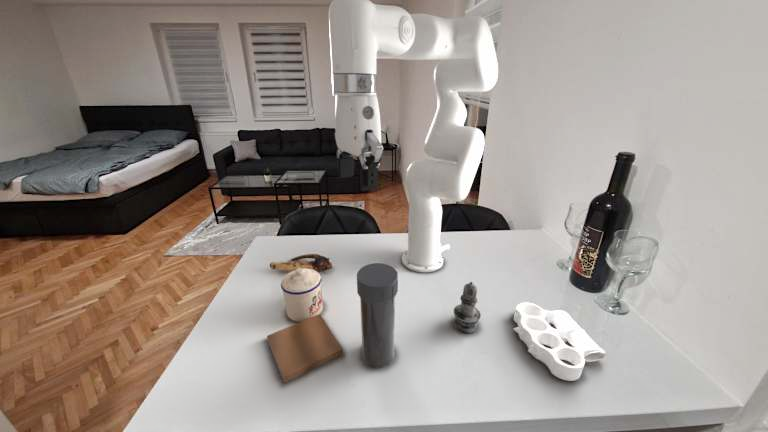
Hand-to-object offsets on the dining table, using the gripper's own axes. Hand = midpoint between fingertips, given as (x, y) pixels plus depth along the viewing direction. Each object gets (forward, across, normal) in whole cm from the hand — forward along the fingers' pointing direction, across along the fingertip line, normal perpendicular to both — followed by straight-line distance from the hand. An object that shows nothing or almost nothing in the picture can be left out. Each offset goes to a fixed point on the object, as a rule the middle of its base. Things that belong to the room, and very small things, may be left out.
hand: (357, 182), depth 58 cm
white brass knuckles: (+33, -28, -31) cm, 53 cm away
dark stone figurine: (+33, -15, -19) cm, 41 cm away
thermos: (+33, -11, +2) cm, 35 cm away
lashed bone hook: (+33, +28, +5) cm, 43 cm away
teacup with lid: (+33, +10, +10) cm, 36 cm away
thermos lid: (+17, -11, +2) cm, 21 cm away
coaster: (+33, -2, +14) cm, 36 cm away
